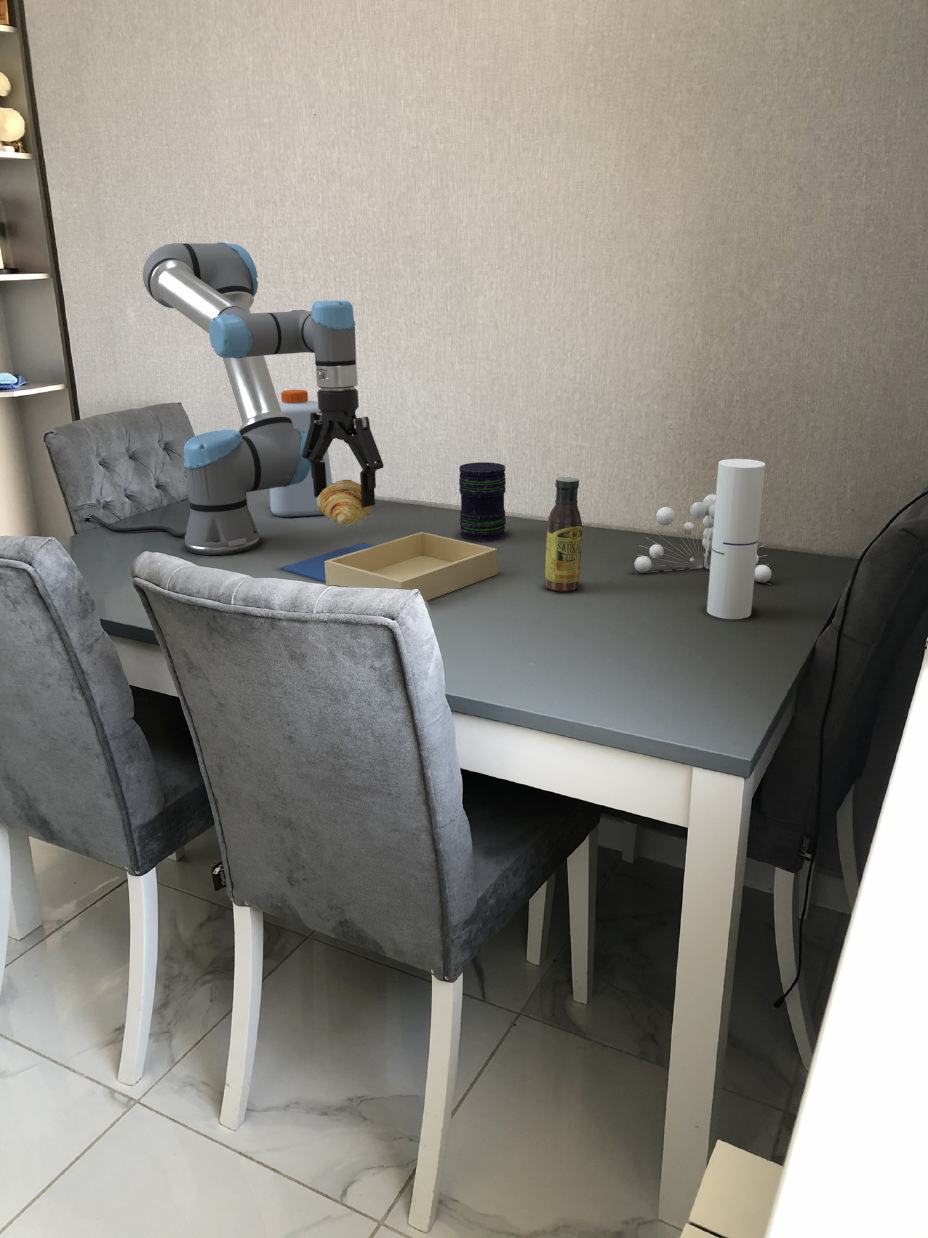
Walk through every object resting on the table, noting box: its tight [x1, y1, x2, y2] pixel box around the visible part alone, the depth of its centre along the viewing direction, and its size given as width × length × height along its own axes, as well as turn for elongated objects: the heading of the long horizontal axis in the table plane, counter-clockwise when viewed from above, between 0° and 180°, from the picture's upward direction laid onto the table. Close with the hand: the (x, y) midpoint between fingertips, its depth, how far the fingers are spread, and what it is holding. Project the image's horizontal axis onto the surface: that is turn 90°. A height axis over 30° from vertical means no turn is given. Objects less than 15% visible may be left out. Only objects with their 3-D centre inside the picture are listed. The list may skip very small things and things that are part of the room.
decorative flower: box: [633, 493, 772, 585], centre depth 182 cm, size 25×22×14 cm
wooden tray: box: [325, 531, 498, 602], centre depth 179 cm, size 20×26×5 cm
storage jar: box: [458, 461, 507, 543], centre depth 206 cm, size 10×10×15 cm
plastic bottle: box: [269, 389, 333, 518], centre depth 228 cm, size 15×15×28 cm
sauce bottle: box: [544, 476, 584, 592], centre depth 171 cm, size 6×6×20 cm
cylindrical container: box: [706, 458, 766, 620], centre depth 157 cm, size 7×7×25 cm
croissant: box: [317, 479, 371, 526], centre depth 187 cm, size 21×10×8 cm, turn 8°
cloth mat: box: [280, 542, 375, 583], centre depth 191 cm, size 14×22×1 cm, turn 139°
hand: (344, 500), depth 186 cm, fingers closed on croissant, 13 cm apart
